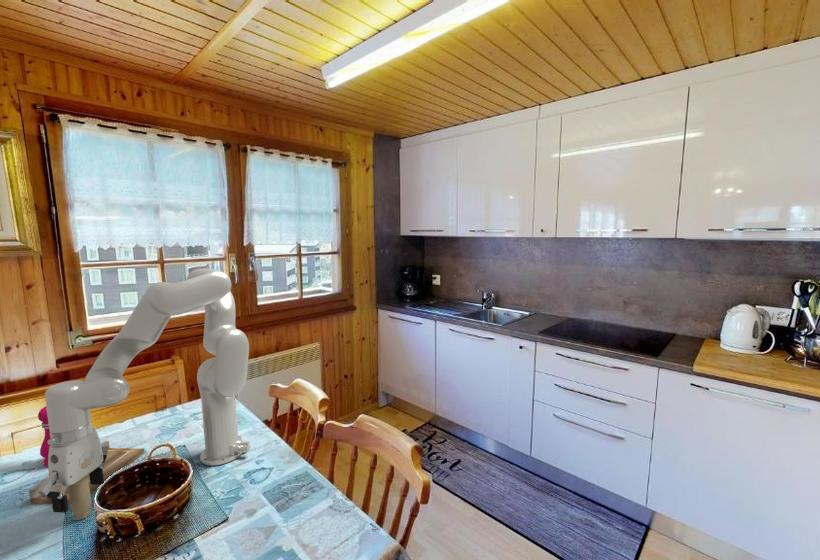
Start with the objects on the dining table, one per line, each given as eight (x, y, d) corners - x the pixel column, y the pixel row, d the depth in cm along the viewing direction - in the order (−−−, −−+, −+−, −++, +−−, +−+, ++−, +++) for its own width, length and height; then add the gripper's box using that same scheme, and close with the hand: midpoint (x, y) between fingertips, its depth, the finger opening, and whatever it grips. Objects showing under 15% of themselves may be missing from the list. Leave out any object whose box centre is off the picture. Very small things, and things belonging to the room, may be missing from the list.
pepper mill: (36, 465, 113) (28, 403, 111) (65, 452, 120) (58, 394, 117) (49, 470, 111) (41, 407, 108) (78, 457, 117) (71, 397, 115)
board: (144, 452, 119) (143, 441, 119) (78, 504, 96) (76, 490, 96) (105, 452, 120) (104, 440, 119) (30, 503, 97) (28, 489, 96)
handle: (82, 525, 89) (75, 468, 87) (61, 521, 91) (54, 465, 89) (102, 511, 94) (96, 456, 92) (82, 507, 95) (75, 453, 93)
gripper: (51, 453, 81) (60, 524, 83) (116, 415, 98) (122, 474, 100) (18, 453, 81) (28, 523, 83) (89, 415, 98) (96, 474, 100)
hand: (80, 496), depth 92 cm, fingers open, 9 cm apart
